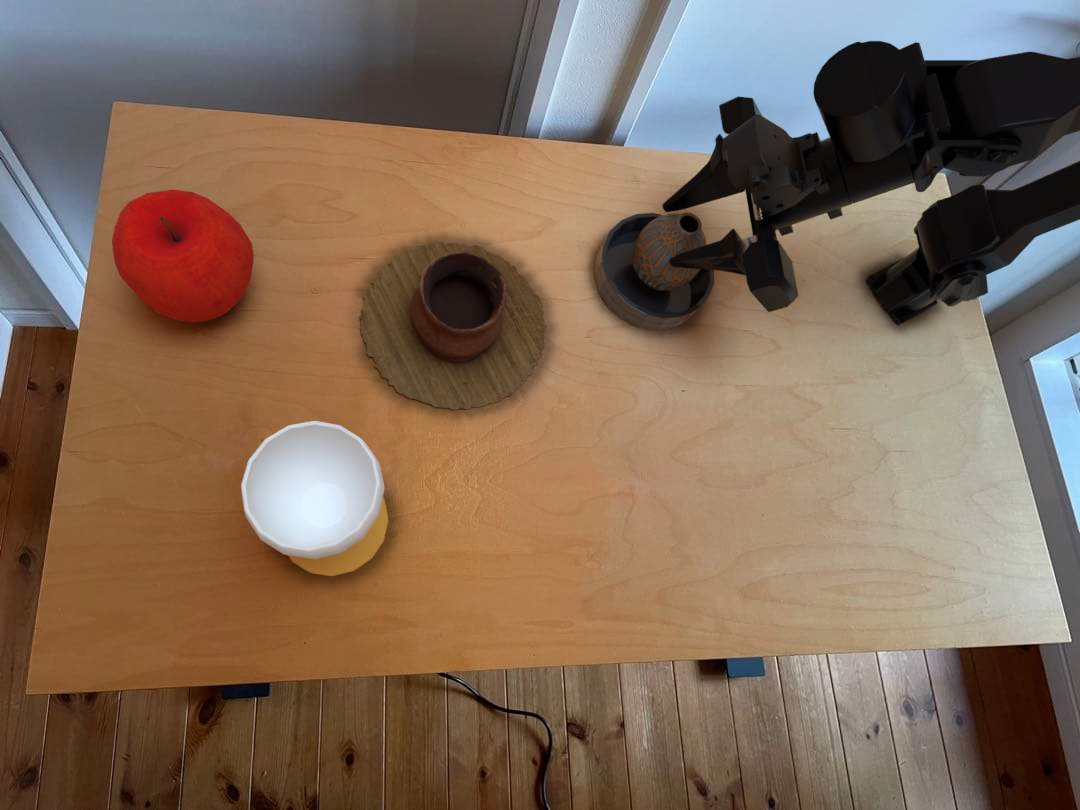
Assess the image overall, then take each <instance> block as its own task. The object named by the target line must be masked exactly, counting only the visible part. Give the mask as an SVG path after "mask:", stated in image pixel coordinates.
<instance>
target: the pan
mask: <svg viewBox="0 0 1080 810" xmlns="http://www.w3.org/2000/svg"><path fill="white" fill-rule="evenodd" d="M662 215H663V214H661V213H656V212H646V213H644V212H643V213H635V214H633V215H630V216H628V217H625V218H623V219H621V220H620V221H618V223H616V224H615V225H614V226H613V227H612V228H611V229H610V230H609V232H608V233H607V235H606V237H605V239H604V241H603V243H602V245H601V247H600V249H599V251H598V252H597V254H596V258H595V263H594V281H595V285H596V288H597V291H598V293H599V295H600V297H601V299H602V300H603V302H604V303H605V304H606V306H607V307H608V309H610V311H612V313H614V314H615V315H616V316H617V317H618V318H619V319H621V320H623V321H624V322H626V323H628V324H630V325H632V326H635V327H636V328H640V329H643V330H650V331H664V330H669V329H673V328H676V327H679V326H680V325H682V324H684V323H686V322H687V321H689V320H690V319H691V318H692V316H693V315H694V314H695V313H696V312H698V310H699V309H700V308H701V307H702V306H703V305H704V304H705V303H706V301H707V300H708V299H710V298H709V297H710V295H711V293H712V290H713V288H714V284H715V270H706V269H700V271H699V272H698V273H697V275H696V276H695V277H694V278H693V279H692V280H691V281H690V282H689V283H687V284H686V285H684V286H682V287H680V288H678V289H675V290H670V291H660V290H656V289H653V288H651V287H649V286H647V285H646V284H645V283H643V282H642V281H641V280H640V278H639V277H638V276H637V274H636V272H635V270H634V266H633V249H634V245H635V242H636V240H637V238H638V236H639V234H640V233H641V231H642V230H643V229H644V228H645V226H646V225H647V224H649V223H650V222H651V221H653V220H654V219H656V218H658V217H660V216H662Z"/></svg>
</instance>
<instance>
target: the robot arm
mask: <svg viewBox="0 0 1080 810" xmlns="http://www.w3.org/2000/svg"><path fill="white" fill-rule="evenodd" d="M812 93H813V94H812V95H813V98H814V102H815V104H816V106H817V109H818V111H819V114H820V117H821V119H822V122H823V124H824V126H825V129H826V131H827V133H828V136H829V137H827V138H823V139H822V140H821V137H820V136H819V133H818V131H816V132H814V133H811V132H809V133H805V134H803V135H800V136H796V137H792V136H791V135H790V134H789V133H788V132H787V130H785V129H784V128H782V127H781V126H779V125H777V124H776V123H774V122H773V121H771V120H769V119H767V118H766V117H764V116H763V115H762V112H761V111H760V109H759V107H758V105H757V104H756V102H755V99H754V98H753V97H746V96H739V95H738V96H735V97H733V98H731V99H729V100H727V101H724V102H722V103H720V104H719V105H718V108H719V114H720V121H721V127H722V128H721V129H722V131H723V133H724V134H726V136H725V137H723V136H722V134H721V133H718V134H717V135H716V137H715V145H714V148H713V151H712V153H711V155H710V158H709V160H708V161H707V163H706V164H705V165H703V167H702V168H701V169H700V170H699V171H698V172H697V173H696V174H695V175H694V176H693V177H691V179H689V180H688V181H686V183H685V184H684V185H682V187H680V188H679V189H678V190H677V191H676V192H675V193H673V194H672V195H671V196H670V197H669V198H668V199H666V200H665V201H664V202H663V203H662V205H661V206H662V210H663V211H664V212H665V213H674V212H679V211H682V210H683V211H684V210H687V209H689V208H693V207H697V206H701V205H703V204H708V203H711V202H714V201H716V200H720V199H724V198H727V197H731V196H734V195H738V194H741V193H744V192H745V197H746V202H747V209H748V215H749V220H750V227H751V233H752V235H751V236H748V237H746V238H743V239H742V237H741V236H740V235H739V233H738V231H736V229H735V228H732V229H731V230H729V231H728V233H727V234H726V235H725V236H723V238H721V239H720V240H717V241H714V242H711V243H707V245H705V246H702V247H699V248H696V249H692V250H689V251H686V252H683V253H681V254H679V255H676V256H674V257H672V258H670V259H669V263H670V264H671V265H672V266H673V267H680V268H693V269H706V270H714V271H716V272H717V271H718V272H725V273H730V274H735V275H741V276H744V277H745V278H746V284H747V287H748V290H749V292H750V293H751V294H752V296H754V298H755V299H756V300H757V301H758V302H759V303H760V305H761V306H762V307H763V309H765V311H767V312H768V313H771V312H774V311H779V310H781V309H786V308H788V307H790V305H792V304H793V303H794V301H796V299H798V297H799V291H798V285H797V281H796V276H795V269H794V264H793V260H792V259H791V257H790V256H789V254H788V253H787V251H786V250H785V249H784V247H783V245H782V244H781V242H780V241H779V239H778V238H777V232H776V231H778V232H779V234H780V236H781V237H783V236H784V237H785V236H786V235H789V234H792V233H794V227H793V225H795V224H799V223H802V222H805V221H808V220H810V219H814V218H816V217H818V216H821V215H825V214H826V215H827V216H828V218H829V220H833V219H837V218H840V217H842V216H844V215H843V210H842V208H845V207H849V206H851V205H854V204H857V203H859V202H863V201H865V200H868V199H871V198H874V197H877V196H879V195H882V194H886V193H888V192H891V191H894V190H897V189H900V188H903V187H905V186H909V185H913V184H914V187H915V191H916V192H917V193H923V192H925V191H926V190H927V189H929V187H930V186H931V185H932V184H933V182H934V179H935V178H936V176H937V175H938V174H939V173H940V172H941V171H942V170H943V169H946V170H948V171H952V172H956V173H958V174H959V176H961V177H975V178H976V177H977V178H979V177H981V178H984V177H987V176H991V175H995V174H997V173H999V172H1002V171H1004V170H1006V169H1009V168H1010V167H1013V166H1017V165H1020V164H1022V163H1026V162H1029V161H1034V160H1035V159H1037V158H1038V157H1040V156H1041V155H1042V154H1043V153H1044V152H1046V151H1047V150H1048V149H1049V148H1051V147H1052V146H1053V145H1055V144H1057V142H1059V141H1060V140H1061V139H1062V138H1063V137H1065V136H1068V135H1071V134H1075V133H1077V132H1080V56H1075V57H1068V58H1064V57H1059V56H1056V55H1050V54H1046V53H1041V52H1036V51H1024V52H1023V51H1022V52H1018V53H1011V54H1005V55H1000V56H999V55H998V56H994V57H988V58H982V59H948V60H947V59H925V57H924V53H923V50H922V47H921V43H920V42H917V41H915V42H913V43H911V44H908V45H905V46H903V47H902V48H900V49H899V48H898V47H897V46H895V45H893V43H890V42H886V41H883V40H868V41H862V42H861V41H856V42H854V43H851V44H848V45H846V46H845V47H843V48H841V49H840V50H838V51H837V52H836V53H834V54H832V56H831V57H829V58H828V59H827V61H825V63H824V64H823V65H822V67H820V70H819V72H818V73H817V74H816V77H815V80H814V83H813V92H812ZM1078 221H1080V160H1078V161H1076V162H1075V161H1074V162H1073V163H1071V164H1069V165H1067V166H1064V167H1062V168H1060V169H1057V170H1055V171H1053V172H1050V173H1049V174H1046V175H1044V176H1042V177H1039V178H1037V179H1034V180H1033V181H1030V182H1028V183H1025V184H1024V185H1021V186H1019V187H1016V188H1014V189H993V188H990V189H989V188H986V187H985V185H984V184H973V185H970V186H969V187H966V188H965V189H962V190H960V191H959V192H957V193H955V194H952V195H950V196H948V197H945V198H941V199H938V200H936V202H934V203H932V204H931V205H930V206H928V207H927V208H926V209H925V210H923V211H922V213H921V217H920V218H919V219H918V221H917V222H916V223H917V224H916V225H915V226H914V228H913V232H914V235H915V236H916V241H917V245H918V247H917V248H916V249H915V250H913V251H912V252H910V253H909V254H907V255H906V256H905V257H902V258H900V259H898V260H897V261H895V262H893V263H890V264H889V265H886V266H885V267H883V268H881V269H879V270H878V271H876V272H874V273H872V274H870V275H869V276H867V277H866V279H865V281H866V282H867V284H868V286H869V287H870V289H871V290H872V291H873V292H874V293H873V294H875V296H876V297H877V298H878V300H879V301H880V303H881V304H882V306H883V307H884V308H885V310H886V311H887V312H888V314H889V315H890V317H891V318H892V320H893V321H894V322H895V323H896V325H899V326H901V325H903V324H905V323H906V322H909V321H910V320H912V319H913V318H915V317H917V316H919V315H920V314H922V313H924V312H926V311H927V310H929V309H931V308H933V307H934V306H936V305H937V304H938V300H939V301H941V302H943V303H944V304H945V305H946V306H947V307H955V306H956V305H958V304H960V303H962V302H969V301H973V300H976V299H977V298H980V297H982V296H985V295H987V294H988V293H989V287H988V278H987V277H988V276H987V275H989V274H992V273H994V272H997V271H998V270H1000V269H1003V268H1006V267H1008V266H1010V265H1011V264H1012V263H1013V262H1014V261H1015V260H1016V259H1017V258H1018V257H1019V256H1020V254H1021V253H1022V252H1024V250H1025V249H1026V248H1027V247H1028V246H1029V245H1030V244H1031V243H1032V242H1033V240H1035V238H1037V237H1039V236H1042V235H1044V234H1047V233H1050V232H1051V231H1054V230H1057V229H1059V228H1063V227H1064V226H1067V225H1069V224H1072V223H1075V222H1078Z"/></svg>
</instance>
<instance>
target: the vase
mask: <svg viewBox="0 0 1080 810" xmlns="http://www.w3.org/2000/svg"><path fill="white" fill-rule="evenodd" d="M661 215H662V216H660V217H658V218H656V219H654V220H653V221H651V222H650V223H649V224H647V225H646V226H645V228H644V229H643V230H642V231H641V233H640V234H639V236H638V238H637V240H636V242H635V245H634V249H633V266H634V270H635V272H636V274H637V276H638V277H639V278H640V280H641V281H642V282H643V283H645V284H646V285H647V286H649V287H651V288H653V289H656V290H660V291H670V290H675V289H678V288H680V287H682V286H684V285H686V284H687V283H689V282H690V281H691V280H692V279H693V278H694V277H695V276H696V275H697V273H698V272H699V271H700V269H693V268H680V267H673V266H672V265H671V264H670V263H669V259H670V258H672V257H674V256H676V255H679V254H681V253H683V252H686V251H689V250H692V249H696V248H699V247H702V246H705V245H708V241H707V237H706V234H705V231H704V229H703V224H702V221H701V219H700V217H699V216H698V215H696V213H693V212H688V211H687V212H686V211H685V212H681V213H678V212H675V213H674V212H669V213H666V214H661Z"/></svg>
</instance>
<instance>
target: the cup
mask: <svg viewBox="0 0 1080 810" xmlns="http://www.w3.org/2000/svg"><path fill="white" fill-rule="evenodd" d="M240 488H241V489H240V490H241V496H242V497H241V498H242V503H243V511H244V515H245V518H246V520H247V521H248V523H249V524H250V526H251V527H252V529H253V530H254V532H255V534H256V535H257V537H258V538H259V540H260V541H262V542H263V543H264V544H266V545H268V546H269V547H271V548H273V549H274V550H276V551H277V552H279V553H281V554H282V555H284V556H287V557H288V558H289V560H290V561H291V562H292V563H293V564H295V565H297V566H298V567H300V568H301V569H302V570H304V571H307V572H308V573H309V574H314V575H321V576H327V577H335V576H339V575H344V574H348V573H352V572H355V571H357V570H358V569H359V568H360V567H362V566H364V565H365V564H366V563H368V562H369V561H372V559H373V558H374V556H375V555H376V553H377V552H378V550H379V549H380V547H381V546H382V545H383V543H384V541H385V539H386V533H387V528H388V526H389V525H388V524H389V515H388V510H387V505H386V501H385V500H386V499H385V498H384V495H385V494H384V493H385V489H386V487H385V482H384V477H383V472H382V467H381V463H380V461H379V460H378V458H377V457H376V455H375V454H374V453H373V451H372V450H371V448H370V447H369V446H368V444H367V442H365V441H364V439H363V438H362V437H360V436H358V435H357V434H355V433H354V432H352V431H350V430H348V429H347V428H345V427H344V426H342V425H340V424H335V423H330V422H324V421H319V420H310V421H304V422H300V423H294V424H288V425H287V426H285V427H283V428H281V429H280V430H278V431H276V432H274V433H273V434H271V435H270V436H267V437H265V439H264V440H262V442H261V443H260V445H259V446H258V447H257V449H256V450H255V451H254V452H253V454H251V456H250V457H249V458H248V460H247V463H246V466H245V470H244V473H243V477H242V480H241V483H240Z"/></svg>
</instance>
